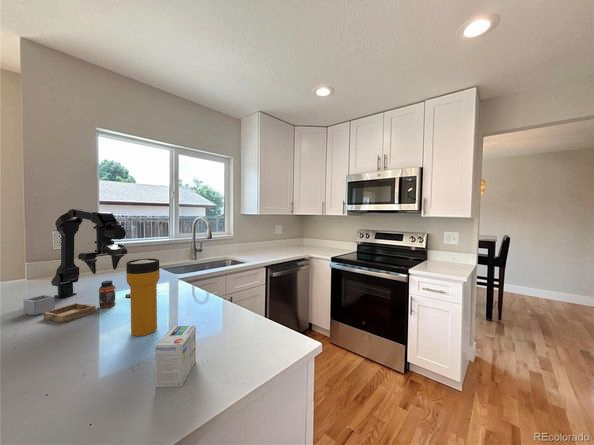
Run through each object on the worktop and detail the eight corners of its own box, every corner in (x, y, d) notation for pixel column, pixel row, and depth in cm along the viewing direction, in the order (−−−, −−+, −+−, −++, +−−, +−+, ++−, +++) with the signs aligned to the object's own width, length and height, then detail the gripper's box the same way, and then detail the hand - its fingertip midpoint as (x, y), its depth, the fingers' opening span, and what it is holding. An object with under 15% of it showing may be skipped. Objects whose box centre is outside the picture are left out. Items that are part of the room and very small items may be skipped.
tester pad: (125, 297, 125) (125, 293, 125) (134, 293, 130) (134, 290, 130) (137, 298, 122) (137, 295, 122) (146, 295, 127) (146, 292, 127)
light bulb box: (172, 362, 71) (172, 325, 71) (196, 361, 72) (196, 324, 71) (154, 388, 60) (153, 345, 60) (182, 387, 61) (182, 344, 61)
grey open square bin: (23, 314, 103) (23, 299, 103) (44, 307, 110) (44, 294, 110) (34, 316, 101) (33, 301, 101) (55, 309, 108) (54, 296, 107)
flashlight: (119, 261, 85) (145, 256, 94) (120, 335, 86) (146, 323, 95) (140, 263, 82) (165, 258, 91) (141, 340, 83) (166, 327, 92)
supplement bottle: (118, 304, 115) (118, 280, 115) (107, 308, 109) (107, 283, 109) (107, 303, 116) (106, 279, 115) (95, 308, 110) (95, 283, 110)
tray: (43, 318, 99) (43, 312, 99) (77, 308, 110) (77, 302, 110) (63, 323, 95) (62, 316, 95) (95, 311, 106) (95, 305, 106)
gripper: (94, 241, 105) (95, 278, 105) (135, 237, 123) (136, 268, 123) (76, 240, 108) (77, 275, 109) (119, 236, 126) (119, 267, 126)
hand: (104, 271), depth 117 cm, fingers open, 9 cm apart
